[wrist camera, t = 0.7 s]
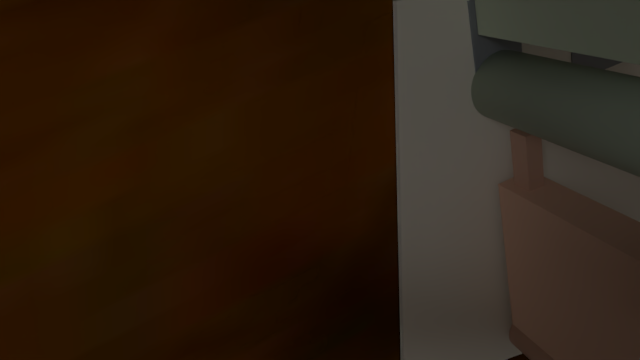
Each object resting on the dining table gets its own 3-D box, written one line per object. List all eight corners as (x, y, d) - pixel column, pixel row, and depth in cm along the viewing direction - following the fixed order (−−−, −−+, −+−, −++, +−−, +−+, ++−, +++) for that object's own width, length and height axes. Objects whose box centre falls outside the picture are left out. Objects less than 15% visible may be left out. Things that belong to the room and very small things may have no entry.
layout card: (392, -2, 21) (397, -2, 20) (722, -43, 26) (730, -43, 26) (401, 394, 29) (404, 399, 28) (651, 299, 34) (656, 302, 34)
